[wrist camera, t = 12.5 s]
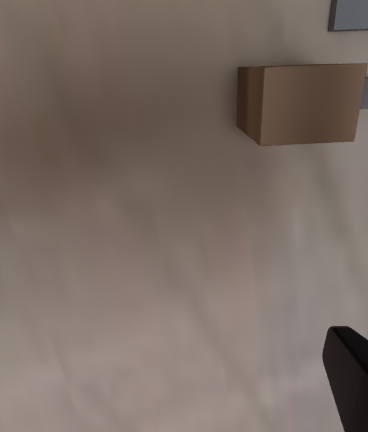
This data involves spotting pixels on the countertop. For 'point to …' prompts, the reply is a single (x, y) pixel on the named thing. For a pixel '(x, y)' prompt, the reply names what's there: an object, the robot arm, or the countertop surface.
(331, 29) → the slate mat
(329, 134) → the walnut gate
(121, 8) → the countertop surface
